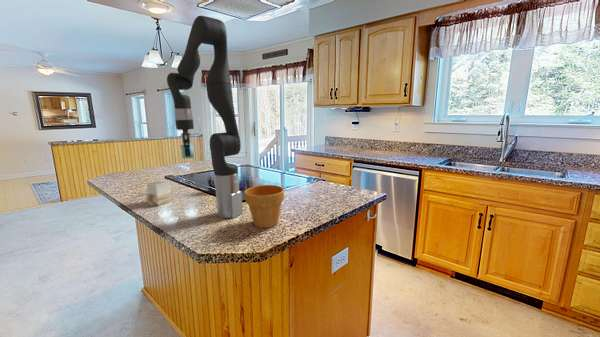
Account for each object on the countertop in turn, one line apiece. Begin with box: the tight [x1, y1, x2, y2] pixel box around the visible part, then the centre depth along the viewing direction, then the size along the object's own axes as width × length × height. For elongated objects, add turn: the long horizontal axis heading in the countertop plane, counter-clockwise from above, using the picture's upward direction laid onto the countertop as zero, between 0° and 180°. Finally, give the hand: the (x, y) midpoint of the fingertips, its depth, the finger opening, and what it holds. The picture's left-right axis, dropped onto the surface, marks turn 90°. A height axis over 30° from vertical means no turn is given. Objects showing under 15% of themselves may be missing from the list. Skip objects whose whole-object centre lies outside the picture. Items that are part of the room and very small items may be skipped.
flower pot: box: [244, 184, 285, 229], centre depth 104 cm, size 14×14×13 cm
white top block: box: [146, 179, 172, 196], centre depth 130 cm, size 7×7×5 cm
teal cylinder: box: [180, 143, 195, 159], centre depth 132 cm, size 5×5×6 cm
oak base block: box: [145, 190, 175, 207], centre depth 131 cm, size 8×8×5 cm
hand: (188, 155), depth 132 cm, fingers closed on teal cylinder, 5 cm apart
